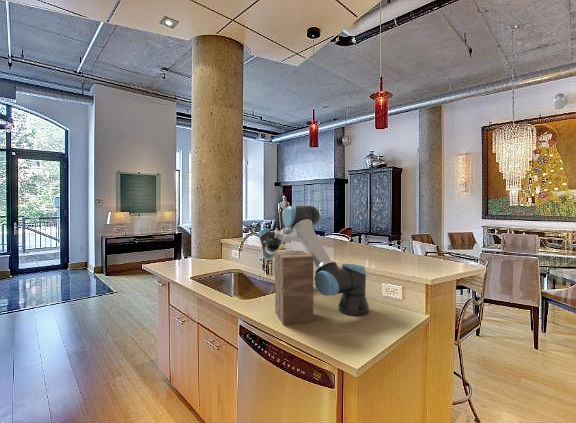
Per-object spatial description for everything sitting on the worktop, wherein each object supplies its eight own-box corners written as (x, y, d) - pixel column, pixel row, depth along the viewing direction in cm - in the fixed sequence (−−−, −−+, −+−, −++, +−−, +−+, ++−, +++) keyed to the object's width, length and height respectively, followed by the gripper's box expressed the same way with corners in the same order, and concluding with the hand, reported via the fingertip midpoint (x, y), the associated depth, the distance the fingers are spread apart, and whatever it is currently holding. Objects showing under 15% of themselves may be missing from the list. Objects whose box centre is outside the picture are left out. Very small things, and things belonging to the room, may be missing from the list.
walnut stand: (275, 312, 156) (275, 251, 155) (302, 310, 160) (302, 250, 159) (283, 325, 141) (283, 257, 140) (313, 322, 144) (313, 255, 143)
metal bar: (273, 236, 183) (273, 231, 183) (278, 236, 184) (278, 231, 184) (285, 242, 158) (285, 236, 158) (290, 242, 159) (290, 236, 159)
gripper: (285, 251, 195) (295, 236, 175) (259, 252, 191) (266, 237, 171) (284, 240, 198) (293, 224, 178) (258, 241, 194) (265, 224, 174)
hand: (280, 230), depth 175 cm, fingers closed on metal bar, 3 cm apart
